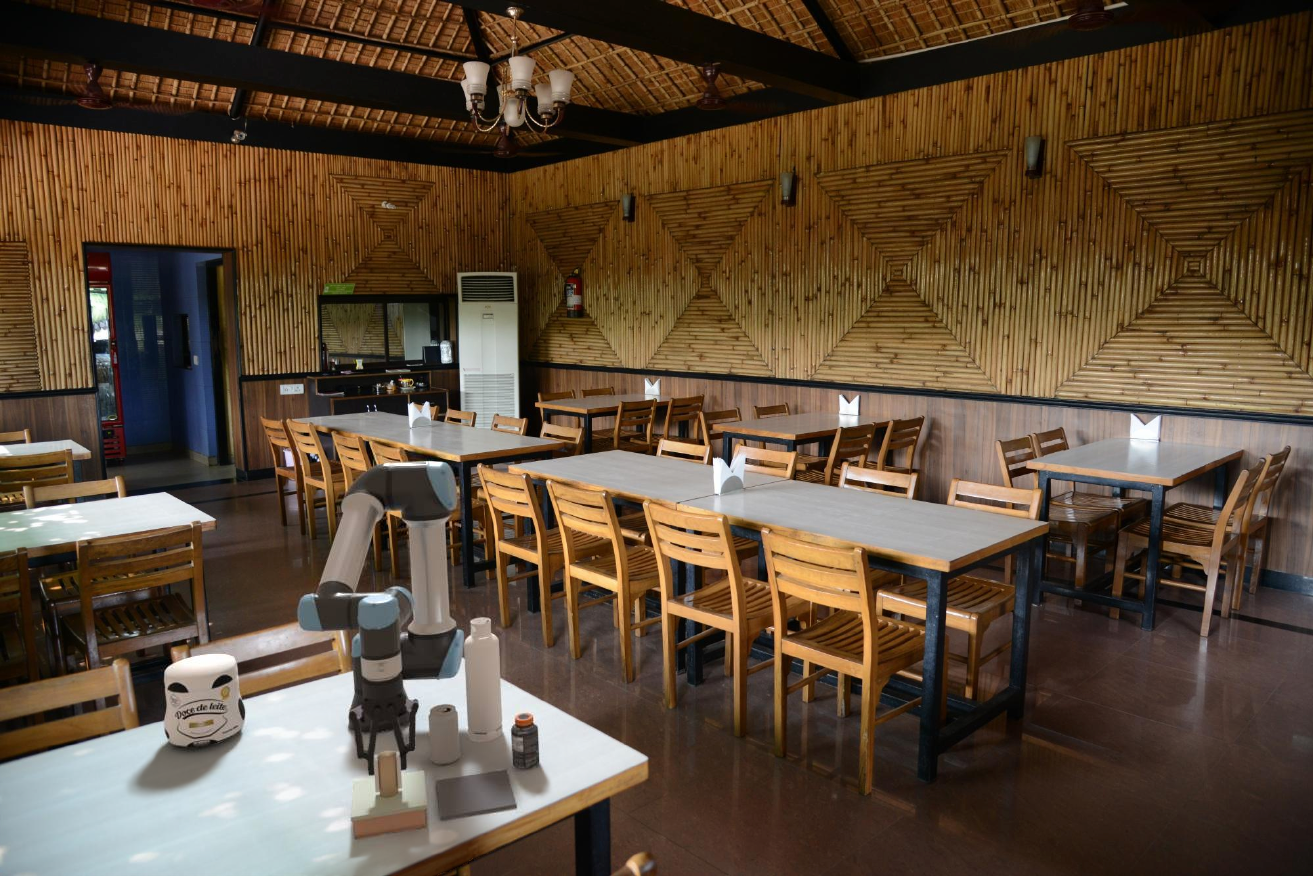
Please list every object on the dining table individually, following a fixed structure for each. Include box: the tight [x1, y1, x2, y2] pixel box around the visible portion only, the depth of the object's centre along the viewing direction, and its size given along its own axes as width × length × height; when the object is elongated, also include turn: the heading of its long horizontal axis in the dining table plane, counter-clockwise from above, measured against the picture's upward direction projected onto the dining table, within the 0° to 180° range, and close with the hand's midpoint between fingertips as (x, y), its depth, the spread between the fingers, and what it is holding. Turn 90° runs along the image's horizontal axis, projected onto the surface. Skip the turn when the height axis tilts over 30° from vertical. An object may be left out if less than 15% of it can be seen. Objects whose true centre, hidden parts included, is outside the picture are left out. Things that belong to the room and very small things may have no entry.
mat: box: [435, 769, 518, 821], centre depth 184 cm, size 15×15×1 cm
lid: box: [350, 750, 428, 822], centre depth 176 cm, size 14×14×9 cm
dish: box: [353, 809, 426, 840], centre depth 177 cm, size 13×13×4 cm
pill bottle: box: [510, 712, 540, 771], centre depth 196 cm, size 6×6×11 cm
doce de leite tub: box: [163, 653, 246, 749], centre depth 211 cm, size 17×17×18 cm
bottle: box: [463, 617, 503, 743], centre depth 210 cm, size 8×8×28 cm
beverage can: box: [428, 703, 461, 766], centre depth 199 cm, size 6×6×12 cm
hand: (388, 786), depth 176 cm, fingers closed on lid, 4 cm apart
